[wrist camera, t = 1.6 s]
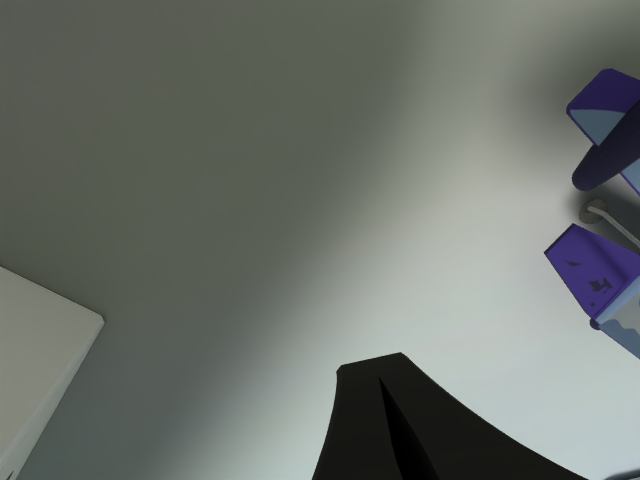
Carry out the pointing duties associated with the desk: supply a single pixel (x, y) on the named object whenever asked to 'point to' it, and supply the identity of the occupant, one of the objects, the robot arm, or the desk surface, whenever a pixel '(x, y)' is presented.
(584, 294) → the toy airplane
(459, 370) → the desk surface
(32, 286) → the gable box
